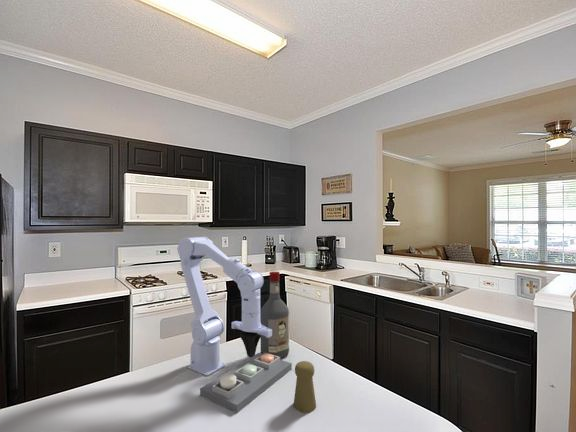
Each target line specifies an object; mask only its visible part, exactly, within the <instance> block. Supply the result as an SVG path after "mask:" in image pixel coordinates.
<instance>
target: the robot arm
mask: <svg viewBox="0 0 576 432" xmlns="http://www.w3.org/2000/svg"><path fill="white" fill-rule="evenodd" d="M177 253H178V255H179V259H180V268H181V271H182V273H183V274H182V275H183V277H184V281H185V284H186V287H187V291H188V294H189V298H190V301H191V304H192V308H193V311H194V317H193V319H192V321H191V322H190V325H191V337H192V339H193V341H192V343H191V346H190V365H189V366H188V369H190V370H192V371H194V372H196V373H199V374H202V375H205V376H207V377H208V376H210V375H211V374H213V373H216V372H217V371H218V370H220V369H222V368H224V367H225V366H226V363H223V362H221V361H220V353H221V352H220V341H221V340H220V339H221V338H222V337H221V336H222V334H223V333H224V330H225V324H224V320H222V319H221V317H220V316H219V312H218V311H216V310H214V309H212V306H211V303H210V300H209V296H208V293H207V290H206V287H205V283H204V280H203V276H202V273H201V269H200V267H199V265H200V263H201V262H202V261H203V260H204V258H205V257H207V258H208V259H210V260H212V261H214V262H215V263H216V264H218V265H219V266H220V267H222V272H223V274H225V275H226V276H227V277H229V278H231V279H232V281H233V282H235V283H236V284H237V288H238V289H239V291H240V297H241V321H238V320H235V321H232V322H231V329H233V330H235V329H236V330H240V331H242V332H241V333H240V334H239V337H240V339H241V341H242V343H243V345H244V349H245V351H246V356H247V357H248V358H251V357H253V356H254V355H256V352H257V347H258V344H259V342H260V341H261V336H262V335H263V336H266V337H267V338H269V337H271V336H272V329H269V328H267V327H265V326H263V325H261V322H260V311H261V288H262V287H263V285H264V282H265V279H264V276H263V274H262V273H261V272H260V271H259V270H252V268H250V267H247V266H246V265H245V264H244V263H242V262H241V259H240V258H236V257H235V258H234V257H231V258H229V257H228V256H227V254H225V252H223V251H221V249H219V248H218V247H217V246H216V245H215V244H214V241H213V240H212V239H209V237H208V236H205V235H204V236H196V237H183V238H182V239H181V240H180V241H179V243H178V245H177Z"/></svg>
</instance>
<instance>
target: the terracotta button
mask: <svg viewBox="0 0 576 432" xmlns="http://www.w3.org/2000/svg"><path fill="white" fill-rule="evenodd" d="M261 361H262V362H265V363H268V364H269V363H271V362H272V361H274V356H273V355H272V354H264V355H262V356H261Z"/></svg>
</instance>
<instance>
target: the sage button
mask: <svg viewBox="0 0 576 432" xmlns="http://www.w3.org/2000/svg"><path fill="white" fill-rule="evenodd" d="M256 372H257V367H256V366H254V365H247V366H244V367H243V368H242V373H243V374H245V375H248V376H252V375H253V374H255V373H256Z"/></svg>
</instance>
